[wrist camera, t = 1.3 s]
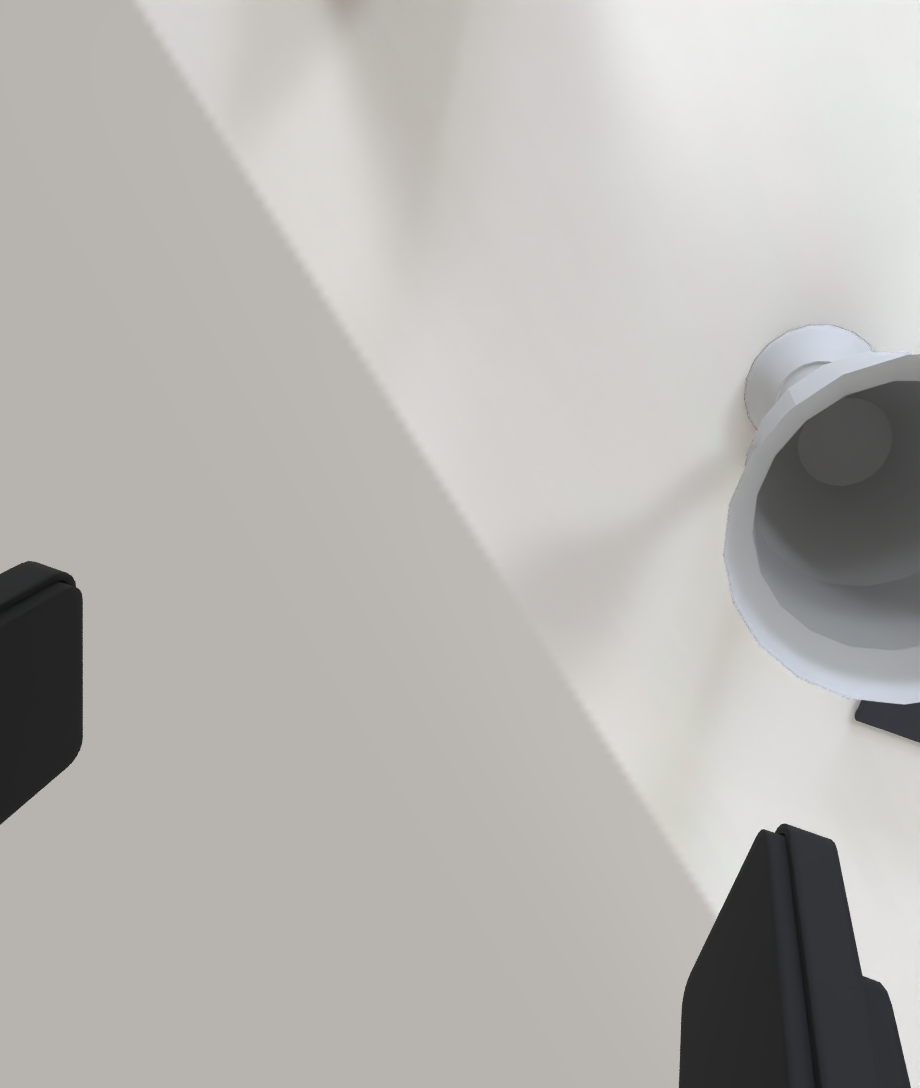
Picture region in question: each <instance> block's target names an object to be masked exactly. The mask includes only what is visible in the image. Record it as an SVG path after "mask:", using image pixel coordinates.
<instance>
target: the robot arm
mask: <svg viewBox="0 0 920 1088" xmlns="http://www.w3.org/2000/svg"><path fill="white" fill-rule="evenodd" d="M82 605H83V601H82V593H81V591H80V590H79V589H78V588H76V584H75V581H74V579H73V577H72V576H71V575H69V574H68V573H66V572H62V571H60V570H57V569H54V568H51V567H48V566H45V565H43V564H40V563H37V562H32V561H27V562H25V563H21V564H19V565H17V566H15V567H13V568H11V569H9V570H7V571H5V572H3V573H1V574H0V824H2V823H3V822H4V821H5V820H6V819H7V818H8V817H10V816H11V815H12V814H13V813H14V812H16V811H17V810H18V809H19V808H20V807H21V806H23V805H24V804H25V803H26V802H27V801H28V800H30V799H31V798H32V797H33V796H34V795H35V794H37V793H38V792H39V791H40V790H41V789H42V788H44V787H45V786H46V785H47V784H48V783H49V782H50V781H52V780H53V779H54V778H55V777H56V776H58V775H59V774H60V773H61V772H62V771H63V770H65V769H66V768H67V767H68V766H69V765H70V764H71V763H72V762H73V761H74V759H75V757H76V756H77V755H78V752H79V751H80V748H81V745H82V739H83V738H82V737H83V732H82V731H83V724H82V723H83V716H82V715H83V678H82V677H83V662H82V659H83V654H82V653H83V650H82V649H83V645H82V642H83V640H82V639H83V637H82V636H83V635H82V633H83V631H82V629H83V623H82V622H83V621H82V618H83V613H82V612H83V607H82ZM679 1075H680V1076H679V1088H911V1086H910V1082H909V1077H908V1073H907V1069H906V1064H905V1060H904V1056H903V1051H902V1047H901V1043H900V1038H899V1034H898V1030H897V1025H896V1021H895V1017H894V1012H893V1008H892V1004H891V1001H890V998H889V996H888V993H887V991H886V989H885V988H884V987H883V985H882V984H881V983H880V982H877V981H875V980H872V979H869V978H867V977H864V976H862V972H861V967H860V962H859V957H858V952H857V947H856V942H855V937H854V932H853V927H852V922H851V917H850V912H849V907H848V902H847V897H846V892H845V887H844V882H843V877H842V872H841V867H840V862H839V857H838V852H837V848H836V845H835V843H834V842H833V841H832V840H831V839H828V838H825V837H822V836H819V835H816V834H814V833H811V832H808V831H805V830H802V829H799V828H796V827H794V826H791V825H788V824H781V825H780V826H779V827H778V828H777V830H776V832H775V833H773V832H770V831H767V830H764V829H763V830H761V831H760V832H759V833H758V835H757V836H756V838H755V840H754V842H753V845H752V847H751V849H750V851H749V853H748V855H747V857H746V859H745V861H744V863H743V865H742V867H741V869H740V872H739V874H738V876H737V878H736V880H735V882H734V884H733V886H732V888H731V890H730V892H729V894H728V896H727V899H726V901H725V903H724V905H723V907H722V909H721V911H720V913H719V915H718V917H717V919H716V921H715V923H714V926H713V928H712V930H711V932H710V934H709V936H708V938H707V940H706V942H705V944H704V946H703V949H702V950H701V952H700V955H699V957H698V959H697V961H696V963H695V965H694V967H693V969H692V971H691V973H690V976H689V978H688V981H687V984H686V987H685V991H684V996H683V1002H682V1017H681V1045H680V1074H679Z"/></svg>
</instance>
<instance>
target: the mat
mask: <svg viewBox="0 0 920 1088" xmlns="http://www.w3.org/2000/svg"><path fill="white" fill-rule="evenodd" d="M855 719H856V720H857V721H860V722H863V723H866V724H868V725H871V726H874V727H877V728H880V729H883V730H886V731H889V732H891V733H894V734H897V735H900V736H903V737H906V738H909V739H911V740H914V741H917V742H920V702H918V703H912V704H906V705H904V704H895V703H885V702H876V701H867V700H862V702H861V704H860V706H859V708H858V710H857V712H856V714H855Z"/></svg>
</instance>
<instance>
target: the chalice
mask: <svg viewBox="0 0 920 1088" xmlns="http://www.w3.org/2000/svg"><path fill="white" fill-rule="evenodd" d="M745 403H746V407H747V412H748V416H749V419H750V420H751V422H752V423H753V425H754V426H755V428H756V429H757V432H756V434H755V436H754V439H753V441H752V443H751V445H750V448H749V450H748V452H747V455H746V464H745V470H744V472H743V474H742V477H741V479H740V481H739V483H738V486H737V488H736V490H735V492H734V495H733V497H732V499H731V501H730V504H729V510H728V518H727V527H726V536H725V545H724V554H723V556H724V561H725V565H726V570H727V575H728V579H729V584H730V589H731V593H732V598H733V603H734V605H735V606H736V608H737V609H738V611H739V613H740V614H741V616H742V618H743V619H744V621H745V623H746V624H747V626H748V628H749V629H750V631H751V633H752V634H753V636H754V638H755V639H756V641H757V643H758V644H759V645H760V646H761V647H762V648H763V649H764V650H766V651H767V652H768V653H769V654H770V655H772V656H773V657H774V658H775V659H776V660H777V661H779V662H780V663H781V664H782V665H783V666H785V667H786V668H787V669H788V670H789V671H791V672H792V673H793V674H794V675H795V676H796V677H798V678H800V679H802V680H805V681H807V682H809V683H812V684H814V685H817V686H819V687H822V688H824V689H826V690H829V691H831V692H834V693H836V694H838V695H841V696H843V697H846V698H849V699H858V700H867V701H876V702H885V703H895V704H904V705H906V704H912V703H918V702H920V355H916V354H914V353H911V352H873V351H872V349H871V348H870V346H869V345H868V344H867V343H866V342H865V341H863V340H862V339H861V338H859V337H858V336H857V335H856V334H854V333H853V332H851V331H848V330H845V329H842V328H839V327H836V326H833V325H808V326H805V327H801V328H798V329H794V330H791V331H788V332H786V333H785V334H783V335H782V336H780V337H779V338H777V339H775V340H774V341H772V342H771V343H769V344H768V345H767V347H766V348H765V349H764V350H763V351H762V352H761V354H760V355H759V356H758V357H757V358H756V359H755V361H754V363H753V365H752V368H751V370H750V372H749V375H748V377H747V379H746V389H745Z"/></svg>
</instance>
